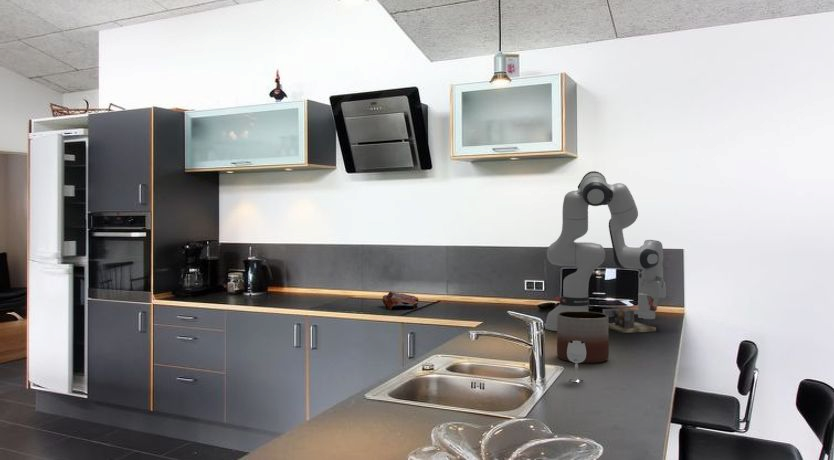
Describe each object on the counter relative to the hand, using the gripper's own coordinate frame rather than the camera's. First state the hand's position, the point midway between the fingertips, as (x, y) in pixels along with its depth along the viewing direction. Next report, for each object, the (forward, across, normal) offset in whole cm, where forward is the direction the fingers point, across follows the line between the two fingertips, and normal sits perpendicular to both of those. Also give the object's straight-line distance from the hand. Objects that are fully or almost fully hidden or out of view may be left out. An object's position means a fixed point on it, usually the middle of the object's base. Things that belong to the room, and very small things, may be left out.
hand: (652, 305), depth 277 cm
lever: (+5, 0, +10) cm, 11 cm away
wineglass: (+11, -88, +63) cm, 109 cm away
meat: (+11, +70, +113) cm, 133 cm away
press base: (+10, -2, +11) cm, 15 cm away
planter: (+11, -58, +51) cm, 79 cm away
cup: (+10, +28, -10) cm, 31 cm away
